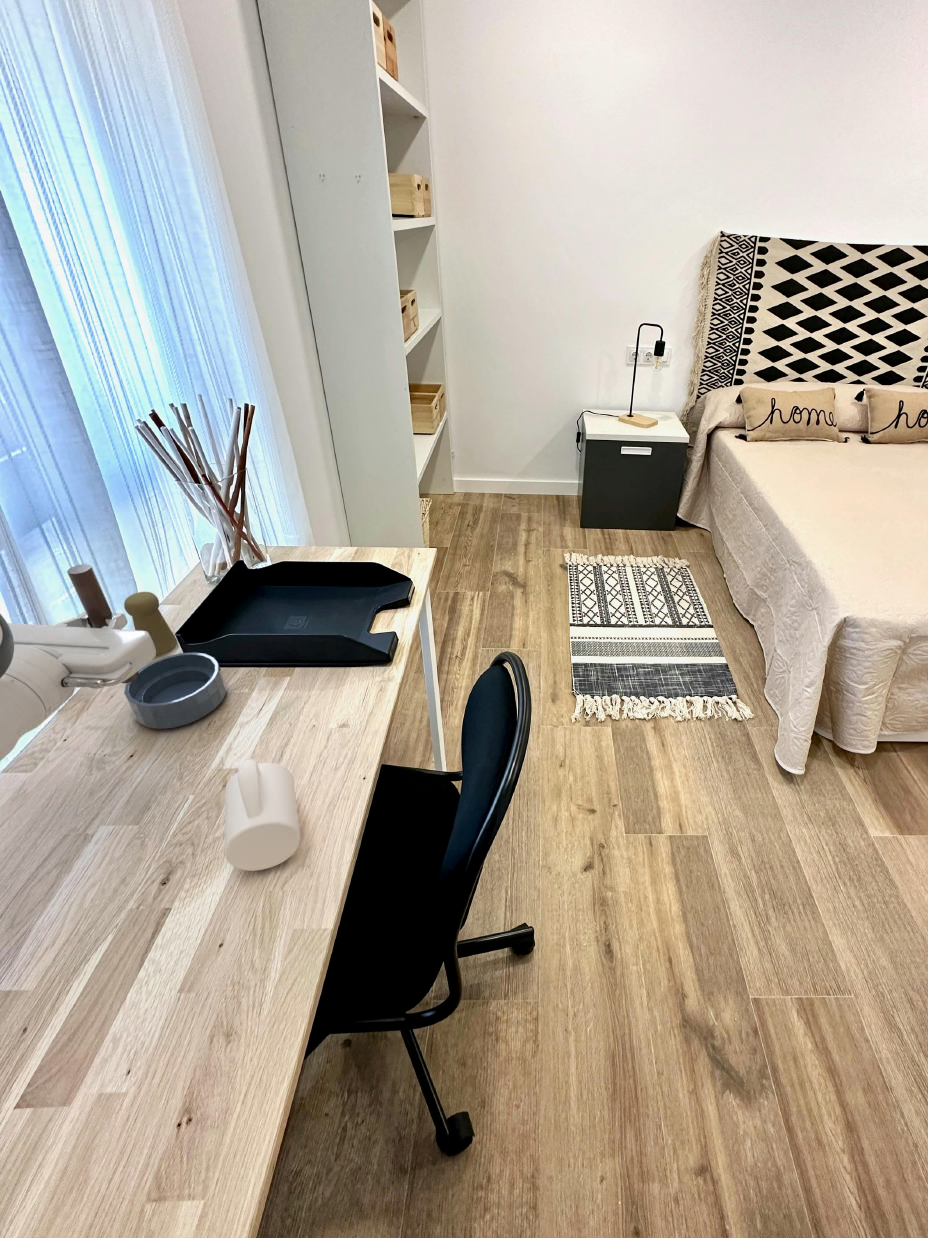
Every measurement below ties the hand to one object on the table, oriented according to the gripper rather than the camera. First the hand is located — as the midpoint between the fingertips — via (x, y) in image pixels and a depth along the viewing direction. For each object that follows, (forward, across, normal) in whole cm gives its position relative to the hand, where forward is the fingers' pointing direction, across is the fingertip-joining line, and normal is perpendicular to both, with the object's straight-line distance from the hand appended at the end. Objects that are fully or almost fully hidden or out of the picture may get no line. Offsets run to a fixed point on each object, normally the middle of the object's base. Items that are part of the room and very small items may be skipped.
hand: (106, 616), depth 83 cm
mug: (-16, -25, +22) cm, 37 cm away
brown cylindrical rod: (-1, 0, +10) cm, 10 cm away
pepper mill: (+22, +14, +22) cm, 34 cm away
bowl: (+7, 0, +22) cm, 23 cm away
